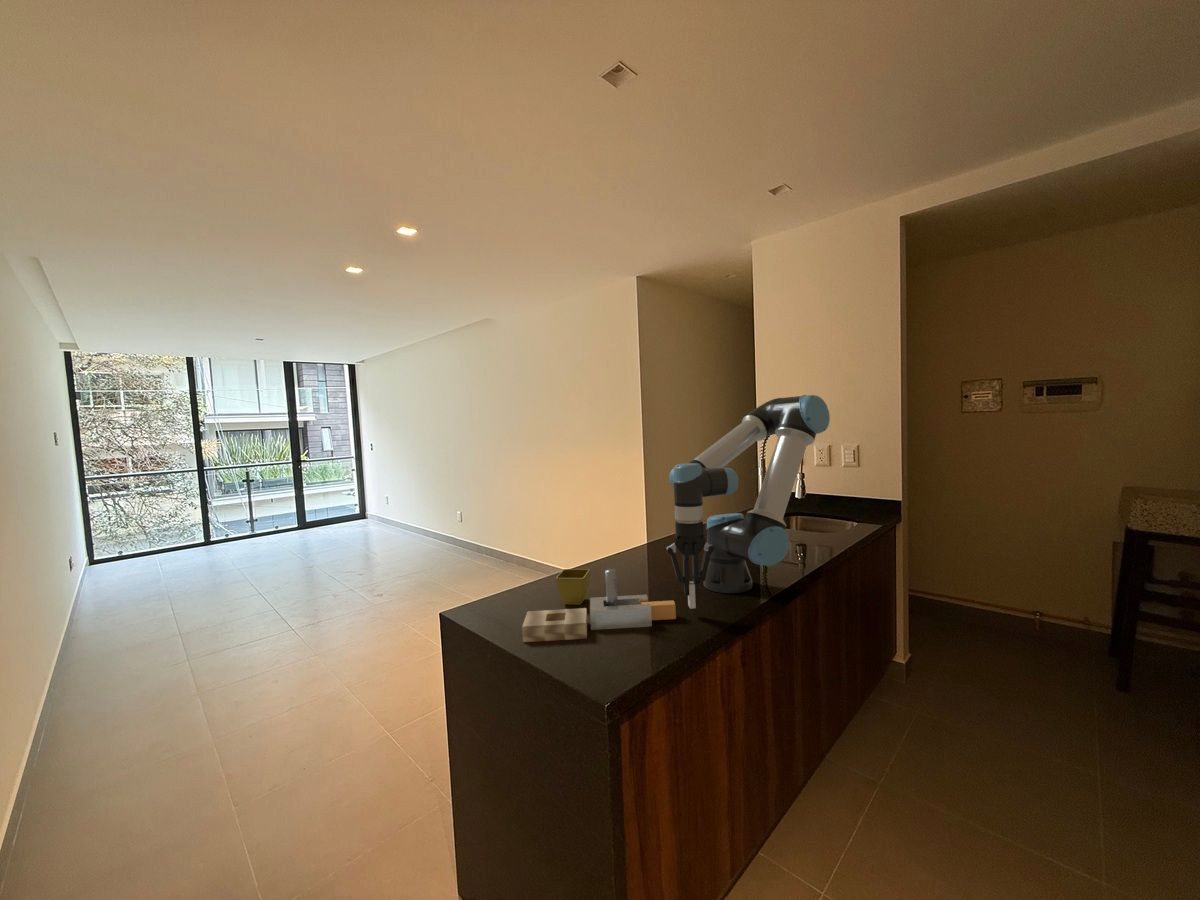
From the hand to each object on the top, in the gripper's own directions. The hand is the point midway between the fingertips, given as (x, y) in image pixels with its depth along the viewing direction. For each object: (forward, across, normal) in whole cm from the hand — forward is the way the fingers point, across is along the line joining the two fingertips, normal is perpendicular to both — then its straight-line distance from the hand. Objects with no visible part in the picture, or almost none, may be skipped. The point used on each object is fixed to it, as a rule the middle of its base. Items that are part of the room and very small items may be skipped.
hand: (691, 606), depth 129 cm
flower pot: (+3, +33, -16) cm, 37 cm away
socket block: (+3, +20, 0) cm, 20 cm away
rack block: (+3, +37, +5) cm, 37 cm away
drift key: (+3, +9, 0) cm, 10 cm away
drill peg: (+3, +22, 0) cm, 22 cm away
